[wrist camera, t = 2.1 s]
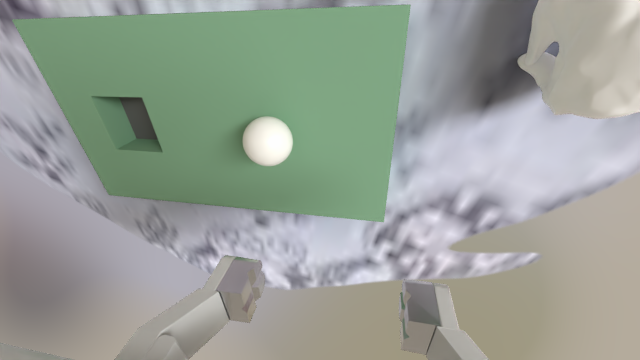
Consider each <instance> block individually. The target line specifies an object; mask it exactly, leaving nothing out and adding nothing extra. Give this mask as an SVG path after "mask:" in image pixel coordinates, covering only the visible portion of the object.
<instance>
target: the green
mask: <svg viewBox="0 0 640 360" xmlns="http://www.w3.org/2000/svg"><path fill="white" fill-rule="evenodd" d="M410 6H411V5H386V6H359V7H333V8H306V9H280V10H253V11H227V12H201V13H174V14H148V15H121V16H95V17H68V18H42V19H17V20H12V21H13V23H14V24H15V26H16V28H17V30H18V32H19V33H20V35H21V37H22V39H23V41H24V42H25V44H26V46H27V48H28V50H29V51H30V53H31V55H32V57H33V59H34V60H35V62H36V64H37V66H38V68H39V69H40V71H41V73H42V75H43V77H44V79H45V80H46V82H47V84H48V86H49V88H50V89H51V91H52V93H53V95H54V97H55V98H56V100H57V102H58V104H59V106H60V107H61V109H62V111H63V113H64V115H65V116H66V118H67V120H68V122H69V124H70V125H71V127H72V129H73V131H74V133H75V134H76V136H77V138H78V140H79V142H80V144H81V145H82V147H83V149H84V151H85V153H86V154H87V156H88V158H89V160H90V162H91V163H92V165H93V167H94V169H95V171H96V172H97V174H98V176H99V178H100V180H101V181H102V183H103V185H104V187H105V189H106V190H107V192H108V194H109V195H114V196H124V197H134V198H144V199H155V200H165V201H175V202H185V203H195V204H205V205H215V206H226V207H236V208H246V209H256V210H266V211H276V212H286V213H297V214H307V215H317V216H327V217H337V218H347V219H357V220H368V221H378V222H384V216H385V208H386V200H387V191H388V183H389V175H390V167H391V159H392V151H393V143H394V135H395V127H396V119H397V111H398V103H399V95H400V86H401V78H402V70H403V62H404V54H405V46H406V38H407V30H408V22H409V14H410ZM264 116H270V117H275V118H277V119H279V120H281V121H283V122H284V123H285V124H286V125H287V126H288V128H289V129H290V131H291V134H292V138H293V146H292V150H291V152H290V154H289V156H288V157H287V158H286V160H284V161H283V162H282V163H280V164H278V165H275V166H262V165H259V164H257V163H255V162H253V161H252V160H251V159H250V158H249V157H248V156H247V154H246V152H245V150H244V148H243V134H244V131H245V129H246V127H247V126H248V125H249V124H250V123H251V122H252V121H253V120H255V119H257V118H260V117H264Z"/></svg>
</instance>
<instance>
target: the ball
mask: <svg viewBox="0 0 640 360" xmlns="http://www.w3.org/2000/svg"><path fill="white" fill-rule="evenodd" d="M292 146H293V138H292V134H291V131H290V129H289V128H288V126H287V125H286V124H285V123H284V122H283V121H281V120H279V119H277V118H275V117H270V116H264V117H260V118H257V119H255V120H253V121H252V122H251V123H250V124H249V125H248V126H247V127H246V129H245V131H244V134H243V148H244V150H245V152H246V154H247V156H248V157H249V158H250V159H251V160H252V161H253V162H255V163H257V164H259V165H262V166H275V165H278V164H280V163H282V162H283V161H284V160H286V158H287V157H288V156H289V154H290V152H291V150H292Z"/></svg>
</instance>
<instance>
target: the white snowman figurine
mask: <svg viewBox="0 0 640 360" xmlns="http://www.w3.org/2000/svg"><path fill="white" fill-rule="evenodd" d="M553 42H558V44H559V53H558V55H557V57H555V56H553V55H552V54H549V53H546V52H545V50H546V49H547V48H548V47H549V46H550V45H551V43H553ZM517 62H518V65H519V67H520V68H521V69H523V70H525V71H526V72H528V73H529V74H530V75H532V76H533V77H534V78H535V80H536V83H537V85H538V86H539V87H541V91H542V92H543V94H542V99H543V101H544V103H545V104H547V105H548V106H549V108H550V109H551V110H552V112H553V113H554V115H562V114H574V115H577V116H583V117H587V118H592V119H605V118H615V117H621V116H626V115H629V114H633V113H637V112H640V0H539V1H538V3H537V6H536V8H535V10H534V13H533V17H532V28H531V33H530V38H529V43H528V50H527V53H526V54H523V55H521V56H520V57H519V58H518V61H517Z"/></svg>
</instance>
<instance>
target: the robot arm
mask: <svg viewBox="0 0 640 360" xmlns="http://www.w3.org/2000/svg"><path fill="white" fill-rule="evenodd" d="M261 268H262V263H261V261H260V260H254V259H247V258H241V257H235V256H228V255H225V256H224V257H223V258H222V259H221V260H220V262H219V263H218V265H217V266H216V268H215V270H214V271H213V273H212V274H211V276H210V277H209V279H208V281H207V282H206V284H205V286H204V287H203V288H202V289H200V288H199V289H197V290H196V291H194V292H193V293H191V294H190V295H188V296H186V297H185V298H183V299H182V300H180V301H179V302H178V303H176V304H174V305H173V306H171V307H170V308H168V309H167V310H165V311H164V312H162V313H161V314H159V315H158V316H156V317H154V318H153V319H152V320H150V321H148V322H147V323H145V324H144V325H142V326H141V327H139V328H138V329H137V330H136V332H135V333H134V334H133V336H132V337H131V338H130V340H129V341H128V343H127V344H126V345H125V346H124V347H123V349H122V350H121V351H120V353H119V354H118V355H117V357H116V358H115V359H114V360H189V359H190V358H191V357H192V356H193V355H194V354H195V353H196V352H197V351H198V350H199V349H200V348H201V347H202V346H203V345H205V344H206V343H207V342H208V341H209V340H210V339H211V338H212V337H213V336H214V335H215V334H216V333H218V332H219V331H220V330H221V329H222V328H223V327H224V326H225V325H226V324H227V323H228V322H229V320H233V321H240V322H247V323H250V321H251V319H252V316H253V314H254V312H255V309H256V303H255V301H256V300H257V299H258V298H260V297H261V295H262V292H263V289H264V284H265V276H264V273H263V272H262V271H261ZM399 319H400V320H401V322H402V324H401V329H400V338H401V350H404V351H409V352H414V353H419V354H424V355H426V357H427V359H428V360H489V359H488V358H487V357H486V356H485V355H484V353H483V352H482V351H481V350H480V349H479V348H478V346H477V345H476V344H475V343H474V342H473V341H472V339H471V338H470V337H469V336H468V335H467V334H466V332H465V331H463V330H459V326H458V323H457V318H456V315H455V310H454V306H453V302H452V298H451V294H450V290H449V287H448V286H447V285H444V284H437V283H431V282H423V281H415V280H407V279H404V280H403V284H402V292H401V293H400V300H399ZM0 360H73V359H68V358H64V357H60V356H55V355H51V354H47V353H42V352H38V351H33V350H29V349H25V348H20V347H16V346H12V345H7V344H3V343H0Z"/></svg>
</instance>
